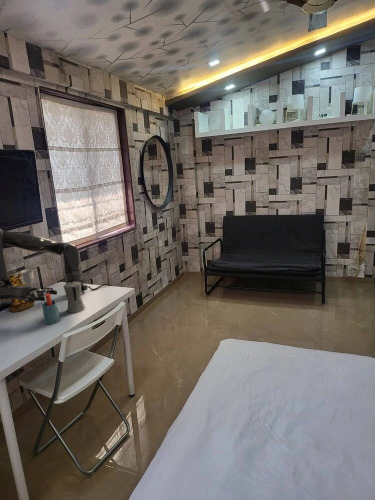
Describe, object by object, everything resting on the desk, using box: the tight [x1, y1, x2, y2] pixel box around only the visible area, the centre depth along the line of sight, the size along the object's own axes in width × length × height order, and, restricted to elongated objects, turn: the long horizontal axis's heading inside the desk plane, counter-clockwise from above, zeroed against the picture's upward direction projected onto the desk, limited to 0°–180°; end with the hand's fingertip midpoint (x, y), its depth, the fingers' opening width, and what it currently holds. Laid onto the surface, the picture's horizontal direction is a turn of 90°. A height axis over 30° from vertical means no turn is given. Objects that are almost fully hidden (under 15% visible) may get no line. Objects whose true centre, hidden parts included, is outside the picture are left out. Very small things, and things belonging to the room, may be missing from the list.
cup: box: [41, 300, 61, 325], centre depth 172 cm, size 7×7×10 cm
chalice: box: [20, 268, 35, 287], centre depth 206 cm, size 7×7×18 cm
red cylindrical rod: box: [44, 294, 53, 306], centre depth 171 cm, size 2×2×14 cm
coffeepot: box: [63, 279, 85, 314], centre depth 183 cm, size 15×9×18 cm, turn 25°
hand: (50, 295), depth 169 cm, fingers open, 8 cm apart
